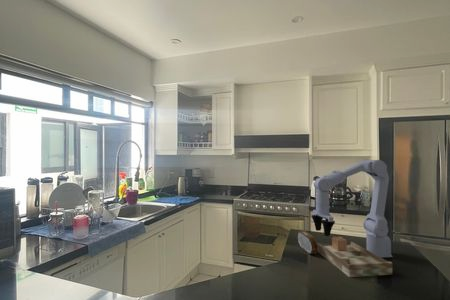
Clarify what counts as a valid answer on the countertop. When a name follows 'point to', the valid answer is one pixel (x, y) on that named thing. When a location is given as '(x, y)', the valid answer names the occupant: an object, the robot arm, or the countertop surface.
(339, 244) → the block
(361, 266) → the mottled shallow tray
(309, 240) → the tin
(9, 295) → the countertop surface
